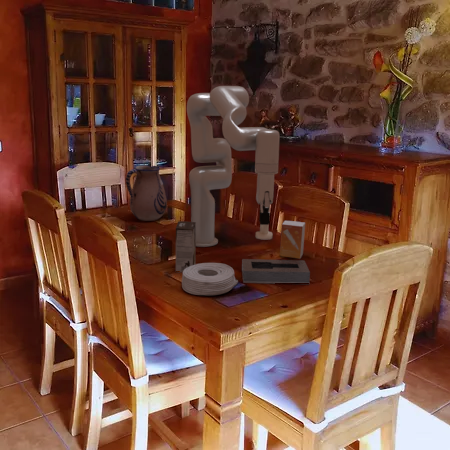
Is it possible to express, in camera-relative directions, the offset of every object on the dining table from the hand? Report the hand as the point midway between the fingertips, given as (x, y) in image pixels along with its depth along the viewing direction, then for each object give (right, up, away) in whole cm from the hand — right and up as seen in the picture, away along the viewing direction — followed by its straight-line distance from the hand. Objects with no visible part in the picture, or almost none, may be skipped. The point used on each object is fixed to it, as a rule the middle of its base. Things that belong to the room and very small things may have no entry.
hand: (264, 222), depth 176 cm
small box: (+13, -13, +29) cm, 34 cm away
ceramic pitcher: (-51, +2, +75) cm, 91 cm away
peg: (0, -5, +1) cm, 5 cm away
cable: (-19, -21, -5) cm, 29 cm away
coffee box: (-27, -16, +12) cm, 34 cm away
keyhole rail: (+4, -19, +5) cm, 20 cm away
